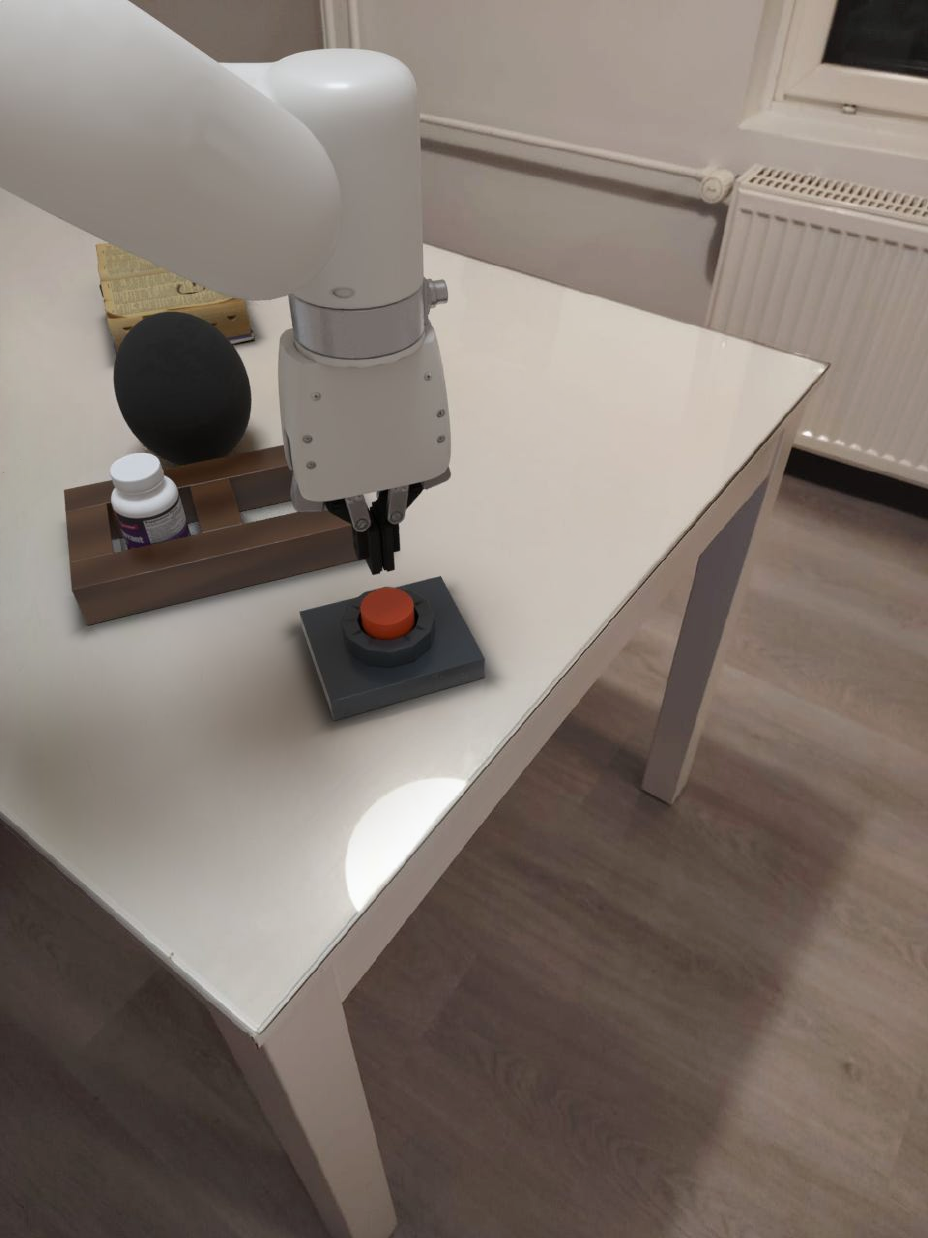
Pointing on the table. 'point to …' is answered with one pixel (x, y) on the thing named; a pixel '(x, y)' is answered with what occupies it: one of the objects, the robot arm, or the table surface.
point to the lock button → (387, 613)
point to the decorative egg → (182, 388)
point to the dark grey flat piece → (391, 651)
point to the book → (161, 296)
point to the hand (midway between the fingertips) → (377, 560)
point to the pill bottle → (146, 501)
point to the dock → (199, 539)
